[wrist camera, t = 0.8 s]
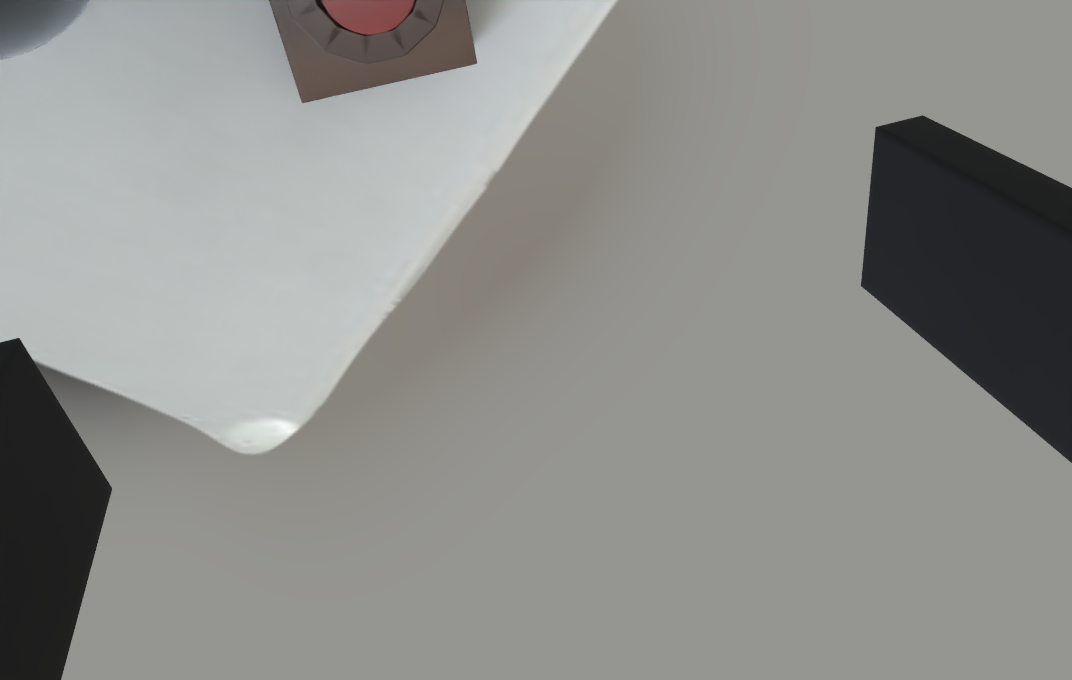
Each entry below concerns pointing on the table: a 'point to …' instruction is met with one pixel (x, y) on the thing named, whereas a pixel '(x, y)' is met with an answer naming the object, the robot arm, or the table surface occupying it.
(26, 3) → the pump dispenser
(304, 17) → the switch box
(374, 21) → the red push button
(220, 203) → the table surface
